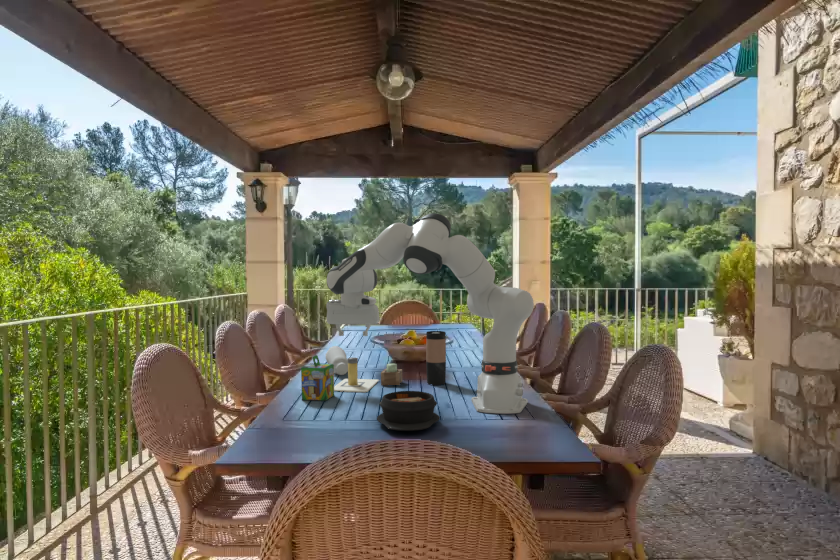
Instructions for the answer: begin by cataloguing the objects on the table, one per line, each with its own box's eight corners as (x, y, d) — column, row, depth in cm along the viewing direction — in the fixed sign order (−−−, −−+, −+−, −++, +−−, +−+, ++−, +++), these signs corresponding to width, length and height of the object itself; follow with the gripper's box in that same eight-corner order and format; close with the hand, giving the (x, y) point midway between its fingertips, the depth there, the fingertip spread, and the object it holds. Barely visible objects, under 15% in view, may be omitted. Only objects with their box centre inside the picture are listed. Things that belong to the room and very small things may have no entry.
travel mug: (446, 381, 235) (446, 330, 235) (445, 385, 228) (445, 333, 227) (427, 381, 236) (427, 330, 235) (425, 385, 229) (425, 333, 228)
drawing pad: (366, 392, 217) (366, 390, 217) (329, 391, 219) (329, 389, 219) (379, 381, 237) (379, 379, 236) (344, 380, 239) (344, 378, 239)
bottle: (321, 358, 271) (326, 373, 242) (332, 341, 271) (338, 354, 242) (338, 368, 273) (345, 384, 244) (348, 351, 273) (357, 365, 244)
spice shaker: (356, 385, 226) (356, 359, 225) (346, 385, 226) (346, 359, 226) (358, 383, 229) (358, 357, 229) (349, 383, 230) (349, 357, 230)
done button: (395, 380, 229) (395, 365, 229) (385, 380, 230) (385, 365, 230) (397, 378, 233) (397, 363, 233) (387, 378, 234) (387, 363, 234)
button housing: (399, 385, 228) (398, 372, 227) (381, 385, 229) (380, 372, 229) (402, 381, 235) (402, 369, 234) (384, 381, 236) (384, 368, 235)
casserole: (378, 413, 188) (378, 387, 188) (437, 412, 189) (437, 386, 188) (374, 437, 163) (374, 407, 163) (442, 436, 164) (442, 406, 163)
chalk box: (326, 401, 204) (325, 358, 203) (300, 400, 206) (300, 357, 205) (335, 395, 213) (334, 354, 212) (311, 394, 215) (310, 353, 214)
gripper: (323, 300, 226) (324, 336, 226) (376, 300, 222) (377, 337, 223) (328, 299, 232) (329, 334, 232) (380, 299, 228) (380, 334, 229)
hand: (353, 335), depth 228 cm, fingers open, 8 cm apart
